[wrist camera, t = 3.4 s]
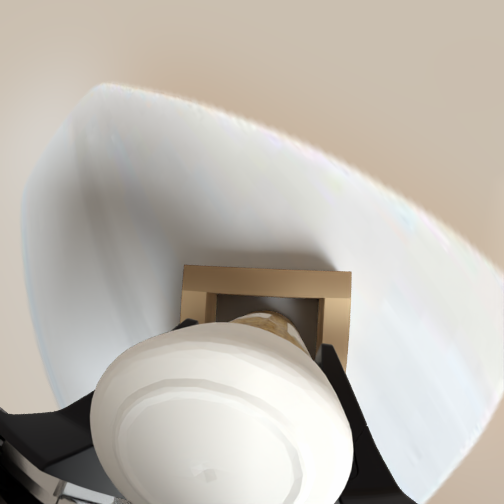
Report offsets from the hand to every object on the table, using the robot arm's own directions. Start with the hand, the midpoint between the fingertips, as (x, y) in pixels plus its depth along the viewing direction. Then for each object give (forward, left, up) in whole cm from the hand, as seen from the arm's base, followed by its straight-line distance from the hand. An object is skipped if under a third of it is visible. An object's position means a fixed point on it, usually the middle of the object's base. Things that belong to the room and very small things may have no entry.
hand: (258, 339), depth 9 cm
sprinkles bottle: (-1, 0, -7) cm, 7 cm away
